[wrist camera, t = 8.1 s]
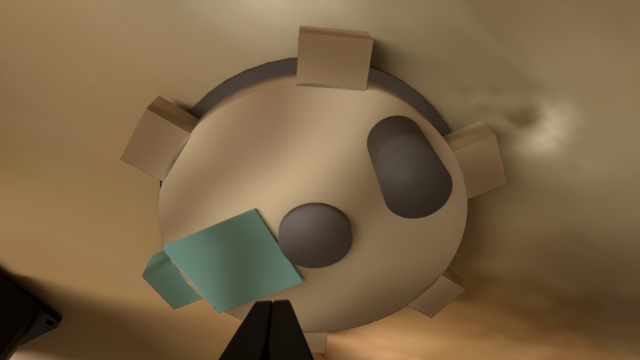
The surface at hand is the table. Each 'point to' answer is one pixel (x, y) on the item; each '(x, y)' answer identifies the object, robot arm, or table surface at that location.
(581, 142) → the table surface
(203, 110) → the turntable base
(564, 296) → the table surface
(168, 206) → the sprocket disc
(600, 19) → the table surface
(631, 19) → the table surface
